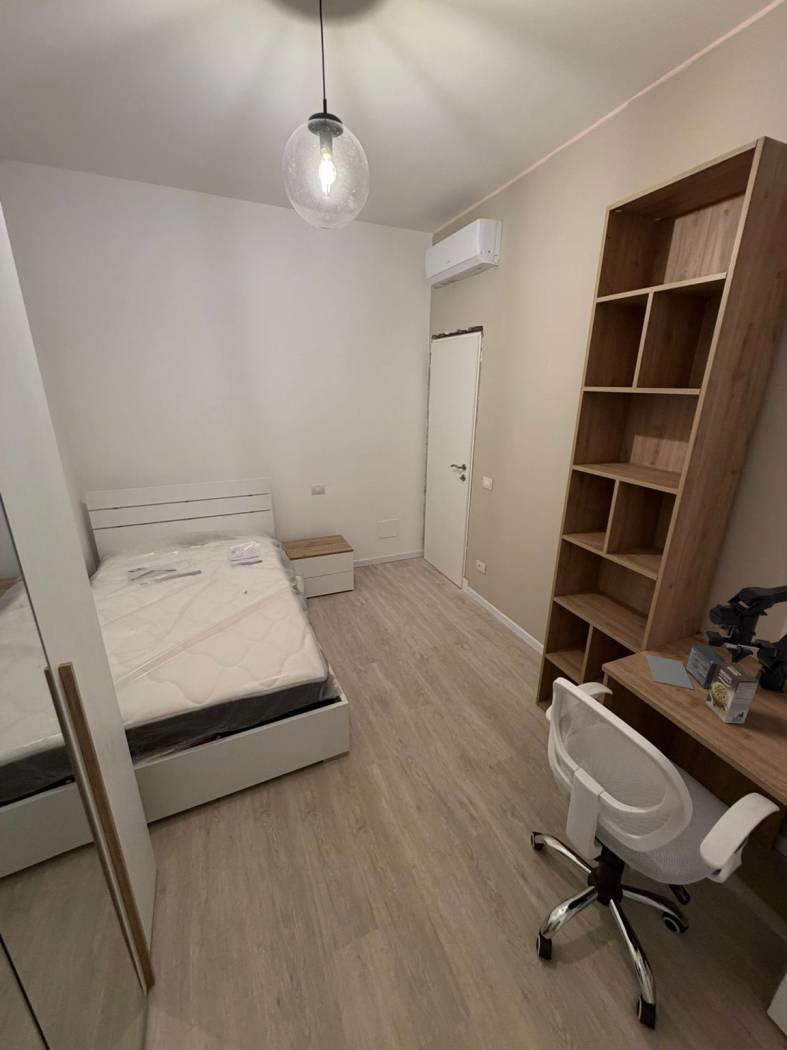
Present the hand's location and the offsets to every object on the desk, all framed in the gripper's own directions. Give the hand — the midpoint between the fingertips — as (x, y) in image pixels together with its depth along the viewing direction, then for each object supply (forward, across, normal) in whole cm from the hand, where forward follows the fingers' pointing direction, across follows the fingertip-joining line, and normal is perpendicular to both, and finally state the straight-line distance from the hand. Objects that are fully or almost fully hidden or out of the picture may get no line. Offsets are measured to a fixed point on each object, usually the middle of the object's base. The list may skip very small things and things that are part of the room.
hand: (732, 664), depth 145 cm
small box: (+8, +7, 0) cm, 11 cm away
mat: (+8, +18, 0) cm, 19 cm away
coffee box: (+8, +6, +17) cm, 20 cm away
